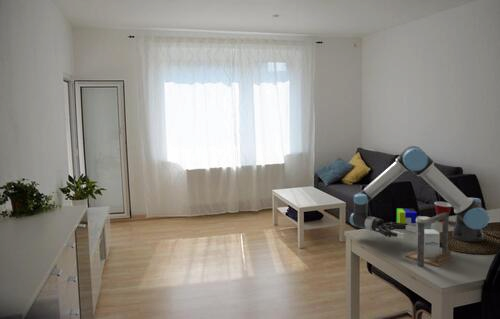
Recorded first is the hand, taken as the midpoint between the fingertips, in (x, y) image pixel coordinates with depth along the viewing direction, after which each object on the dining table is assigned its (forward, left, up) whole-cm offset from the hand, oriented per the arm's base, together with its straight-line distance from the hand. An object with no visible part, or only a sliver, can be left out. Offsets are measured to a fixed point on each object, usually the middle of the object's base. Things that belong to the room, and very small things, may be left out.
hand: (410, 233), depth 188 cm
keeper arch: (-8, +5, -10) cm, 14 cm away
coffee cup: (-7, -24, -10) cm, 27 cm away
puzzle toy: (+2, -46, -10) cm, 47 cm away
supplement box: (-8, +5, -9) cm, 13 cm away
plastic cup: (-20, -62, -10) cm, 66 cm away
